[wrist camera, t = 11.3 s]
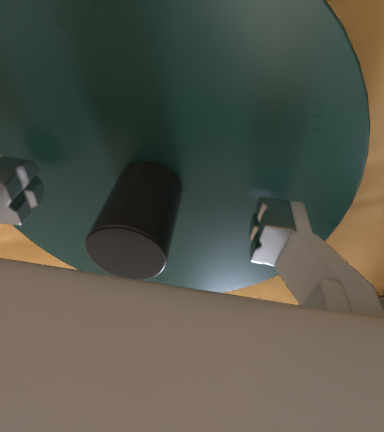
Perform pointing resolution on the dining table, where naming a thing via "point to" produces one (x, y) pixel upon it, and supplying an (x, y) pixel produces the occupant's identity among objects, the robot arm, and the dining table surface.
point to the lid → (179, 128)
